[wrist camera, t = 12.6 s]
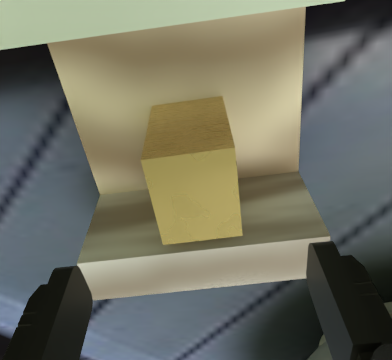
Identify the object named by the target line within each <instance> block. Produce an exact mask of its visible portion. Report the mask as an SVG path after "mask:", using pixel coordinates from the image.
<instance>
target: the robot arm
mask: <svg viewBox="0 0 392 360" xmlns="http://www.w3.org/2000/svg"><path fill="white" fill-rule="evenodd" d="M306 279H307V285H308V289H309V292H310V295H311V298H312V301H313V304H314V307H315V310H316V313H317V316H318V318H319V321H320V324H321V327H322V330H323V333H324V336H325V339H326V342H327V345H328V348H329V350H330V353H331V356H332V359H333V360H392V318H391V316H390V314H389V312H388V310H387V308H386V306H385V305H384V303H383V301H382V299H381V297H380V295H378V292H377V290H376V288H375V286H374V284H372V280H371V279H370V277H369V275H368V273H367V271H366V269H365V267H364V266H363V265H362V264H361V263H359V262H358V261H357V260H356V259H355V258H354V257H353V256H352V255H348V256H340V254H339V252H338V250H337V248H336V246H335V244H334V242H333V241H326V242H316V243H309V246H308V256H307V268H306ZM92 304H93V301H92V294H91V291H90V289H89V287H88V285H87V282H86V280H85V278H84V276H83V274H82V272H81V269H80V268H79V267H78V266H70V267H60V268H55V269H54V270H53V272H52V274H51V277H50V279H49V282H48V284H45V285H40V286H39V287H38V289H37V290H36V291H35V292H34V293H33V294H32V296H31V297H30V298H29V300H28V302H27V305H26V307H25V309H24V311H23V315H22V316H21V318H20V321H19V323H18V327H17V328H16V330H15V332H14V334H13V337H12V339H11V341H10V343H9V346H8V348H7V350H6V352H5V355H4V357H3V360H79V358H80V354H81V350H82V346H83V343H84V339H85V335H86V331H87V327H88V323H89V319H90V315H91V311H92Z"/></svg>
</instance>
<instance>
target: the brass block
mask: <svg viewBox="0 0 392 360" xmlns="http://www.w3.org/2000/svg"><path fill="white" fill-rule="evenodd" d="M141 164H142V167H143V171H144V175H145V179H146V183H147V186H148V190H149V194H150V198H151V202H152V205H153V209H154V213H155V217H156V221H157V224H158V228H159V232H160V236H161V240H162V243H163V245H168V244H177V243H185V242H194V241H202V240H210V239H219V238H227V237H236V236H243V234H242V222H241V211H240V199H239V187H238V175H237V163H236V152H235V145H234V141H233V137H232V133H231V129H230V124H229V120H228V116H227V112H226V108H225V104H224V100H223V96H217V97H210V98H203V99H196V100H189V101H182V102H175V103H168V104H160V105H153V106H152V108H151V112H150V117H149V122H148V127H147V132H146V137H145V141H144V146H143V151H142V156H141Z"/></svg>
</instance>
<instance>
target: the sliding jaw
mask: <svg viewBox="0 0 392 360" xmlns="http://www.w3.org/2000/svg"><path fill="white" fill-rule="evenodd" d="M341 1H345V0H0V50H3V49H10V48H17V47H24V46H31V45H38V44H45V43H52V42H59V41H66V40H73V39H80V38H87V37H94V36H101V35H108V34H115V33H123V32H130V31H137V30H144V29H151V28H158V27H165V26H172V25H179V24H186V23H193V22H200V21H207V20H214V19H221V18H228V17H236V16H243V15H250V14H257V13H264V12H271V11H278V10H285V9H292V8H299V7H306V6H313V5H320V4H327V3H334V2H341Z"/></svg>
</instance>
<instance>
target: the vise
mask: <svg viewBox="0 0 392 360" xmlns="http://www.w3.org/2000/svg"><path fill="white" fill-rule="evenodd" d="M305 11H306V7H299V8H292V9H285V10H278V11H271V12H264V13H257V14H250V15H243V16H236V17H228V18H221V19H214V20H207V21H200V22H193V23H186V24H179V25H172V26H165V27H158V28H151V29H144V30H137V31H130V32H123V33H115V34H108V35H101V36H94V37H87V38H80V39H73V40H66V41H59V42H52V43H47V44H48V47H49V50H50V53H51V56H52V59H53V61H54V64H55V67H56V70H57V73H58V76H59V79H60V81H61V84H62V87H63V90H64V93H65V96H66V99H67V102H68V104H69V107H70V110H71V113H72V116H73V119H74V122H75V124H76V127H77V130H78V133H79V136H80V139H81V142H82V145H83V147H84V150H85V153H86V156H87V159H88V162H89V165H90V167H91V170H92V173H93V176H94V179H95V182H96V185H97V187H98V190H99V193H100V197H99V200H98V203H97V206H96V209H95V212H94V214H93V217H92V220H91V223H90V226H89V229H88V232H87V235H86V238H85V241H84V244H83V247H82V250H81V253H80V256H79V259H78V262H77V266H78V267H79V268H80V269H81V272H82V274H83V276H84V278H85V280H86V282H87V285H88V287H89V289H90V291H91V294H92V298H93V300H101V299H111V298H120V297H130V296H140V295H149V294H159V293H169V292H178V291H188V290H198V289H207V288H217V287H227V286H236V285H246V284H256V283H265V282H275V281H285V280H294V279H304V278H306V268H307V256H308V246H309V243H316V242H326V241H330V234H329V232H328V230H327V228H326V226H325V224H324V222H323V220H322V218H321V216H320V214H319V212H318V210H317V208H316V206H315V204H314V202H313V200H312V198H311V196H310V194H309V192H308V190H307V188H306V186H305V184H304V182H303V180H302V178H301V176H300V174H299V172H298V167H299V145H300V122H301V100H302V78H303V55H304V33H305ZM217 96H223V100H224V104H225V108H226V112H227V116H228V120H229V124H230V129H231V133H232V137H233V141H234V145H235V152H236V163H237V175H238V187H239V199H240V211H241V222H242V234H243V236H236V237H227V238H219V239H210V240H202V241H194V242H185V243H177V244H168V245H163V243H162V240H161V236H160V232H159V228H158V224H157V221H156V217H155V213H154V209H153V205H152V202H151V198H150V194H149V190H148V186H147V183H146V179H145V175H144V171H143V167H142V164H141V156H142V151H143V146H144V141H145V137H146V132H147V127H148V122H149V117H150V112H151V108H152V106H153V105H160V104H168V103H175V102H182V101H189V100H196V99H203V98H210V97H217Z"/></svg>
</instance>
